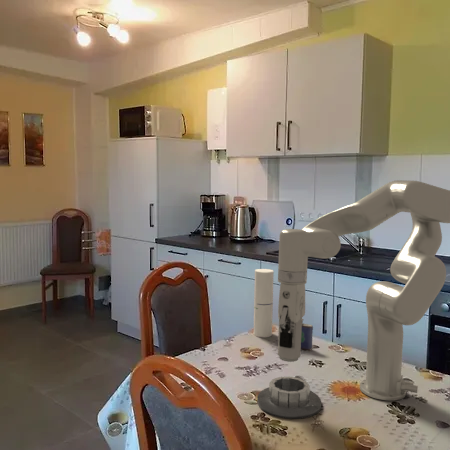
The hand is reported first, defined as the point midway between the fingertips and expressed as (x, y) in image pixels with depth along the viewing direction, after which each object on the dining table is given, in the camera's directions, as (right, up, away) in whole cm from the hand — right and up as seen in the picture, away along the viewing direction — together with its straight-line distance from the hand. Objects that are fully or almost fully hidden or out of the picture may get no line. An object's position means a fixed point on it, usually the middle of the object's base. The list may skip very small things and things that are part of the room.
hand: (289, 342), depth 128 cm
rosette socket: (0, -17, +2) cm, 17 cm away
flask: (+10, -13, +44) cm, 47 cm away
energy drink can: (0, -4, 0) cm, 5 cm away
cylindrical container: (-3, -11, +59) cm, 60 cm away
